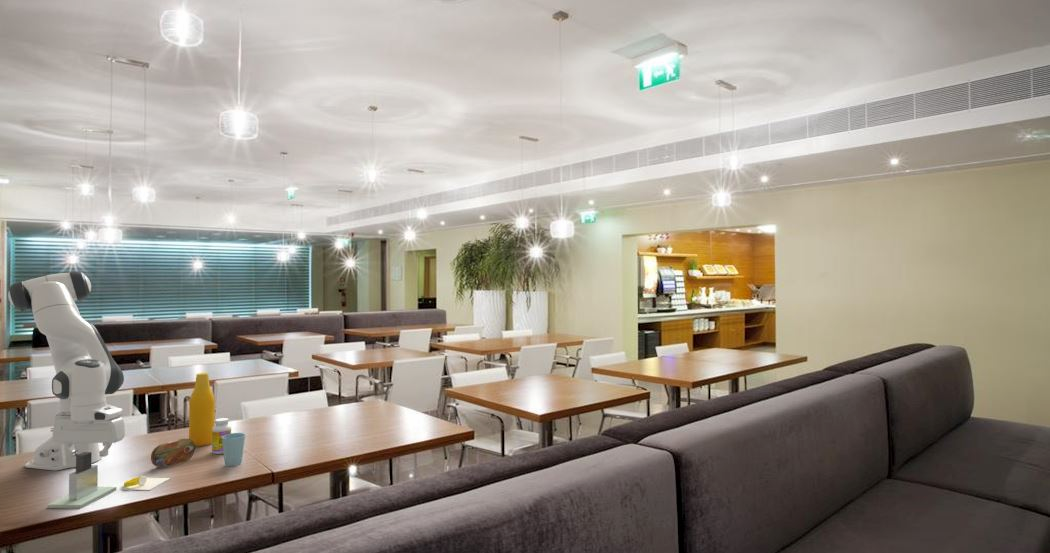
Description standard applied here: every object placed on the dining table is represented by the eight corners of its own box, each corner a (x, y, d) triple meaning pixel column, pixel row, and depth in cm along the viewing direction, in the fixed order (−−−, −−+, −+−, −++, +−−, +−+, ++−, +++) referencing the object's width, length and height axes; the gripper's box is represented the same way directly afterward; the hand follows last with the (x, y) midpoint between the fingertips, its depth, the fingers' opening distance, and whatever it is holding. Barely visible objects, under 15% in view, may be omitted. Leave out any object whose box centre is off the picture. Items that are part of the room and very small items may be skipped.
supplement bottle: (217, 455, 212) (217, 422, 211) (208, 452, 215) (208, 419, 215) (234, 451, 217) (234, 418, 217) (225, 448, 221) (225, 416, 221)
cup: (216, 466, 200) (217, 438, 200) (230, 459, 207) (231, 432, 207) (235, 467, 199) (236, 439, 199) (249, 460, 206) (249, 433, 206)
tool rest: (47, 507, 163) (47, 504, 163) (85, 489, 177) (85, 486, 177) (80, 508, 163) (80, 505, 163) (116, 490, 177) (116, 486, 177)
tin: (154, 470, 195) (154, 447, 195) (149, 469, 196) (149, 446, 196) (195, 458, 208) (196, 436, 208) (190, 457, 210) (190, 435, 210)
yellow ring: (121, 489, 179) (134, 488, 178) (119, 481, 179) (132, 480, 178) (138, 482, 185) (151, 481, 183) (137, 474, 185) (150, 473, 183)
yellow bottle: (208, 438, 233) (208, 370, 233) (218, 442, 227) (219, 373, 227) (184, 443, 225) (185, 373, 225) (194, 448, 220) (195, 376, 220)
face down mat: (122, 490, 177) (122, 489, 177) (144, 478, 187) (144, 477, 187) (149, 490, 177) (149, 489, 177) (170, 479, 187) (170, 478, 187)
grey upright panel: (68, 500, 166) (69, 457, 166) (90, 490, 174) (90, 449, 174) (76, 500, 166) (76, 458, 166) (97, 490, 174) (97, 449, 174)
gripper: (46, 414, 168) (46, 459, 168) (113, 414, 168) (113, 459, 168) (63, 409, 174) (63, 452, 174) (128, 409, 174) (128, 452, 174)
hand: (88, 456), depth 171 cm, fingers open, 8 cm apart
